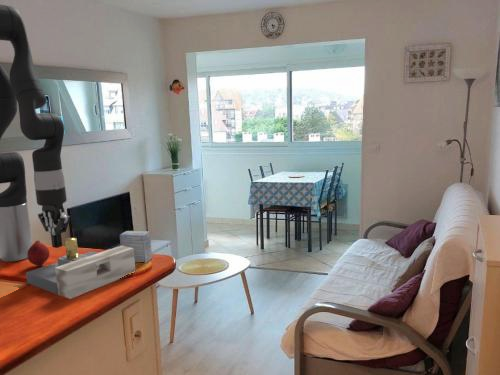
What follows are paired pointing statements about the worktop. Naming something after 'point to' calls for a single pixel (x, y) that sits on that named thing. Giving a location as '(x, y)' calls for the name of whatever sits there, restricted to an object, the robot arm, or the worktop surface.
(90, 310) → the worktop surface
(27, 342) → the worktop surface
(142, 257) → the medicine box
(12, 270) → the worktop surface
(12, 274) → the worktop surface
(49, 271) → the door leaf
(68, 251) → the bolt
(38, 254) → the onion
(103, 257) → the block
